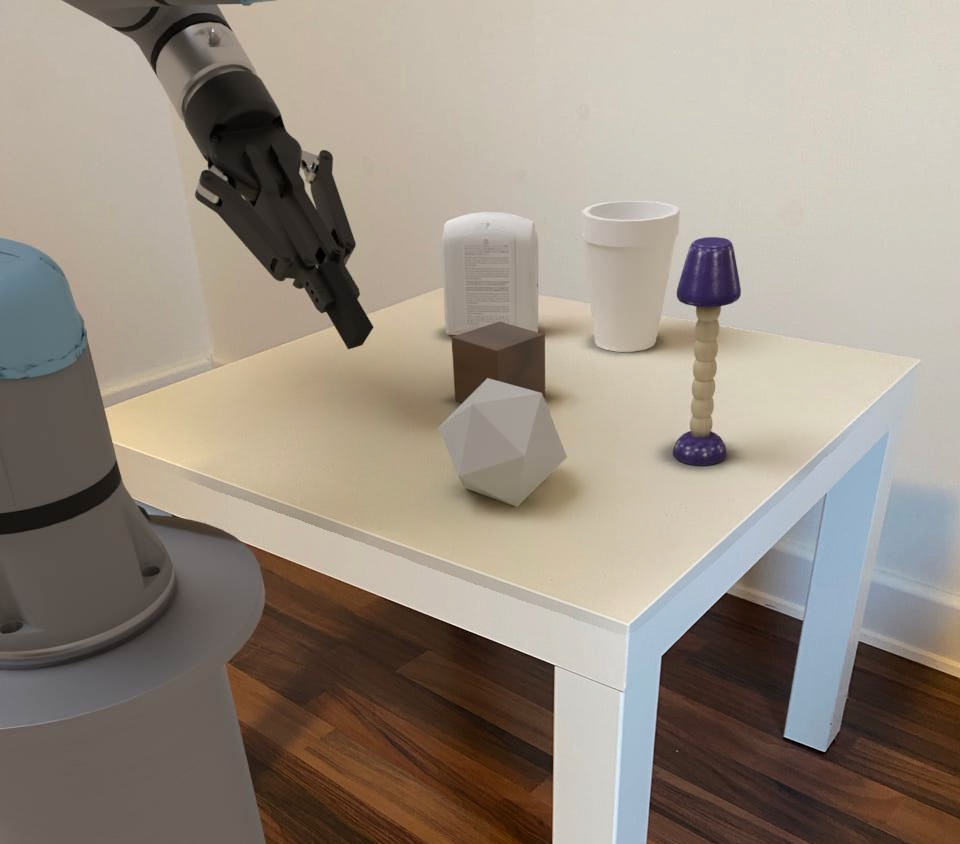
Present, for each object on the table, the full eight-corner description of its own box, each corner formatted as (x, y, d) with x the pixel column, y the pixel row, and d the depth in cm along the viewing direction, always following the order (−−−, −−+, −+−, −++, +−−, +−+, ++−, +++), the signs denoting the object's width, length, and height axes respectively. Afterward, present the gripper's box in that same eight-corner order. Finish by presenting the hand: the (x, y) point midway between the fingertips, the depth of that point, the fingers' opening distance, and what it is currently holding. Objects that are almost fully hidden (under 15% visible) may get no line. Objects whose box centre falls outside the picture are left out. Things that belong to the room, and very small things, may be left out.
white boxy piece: (541, 327, 111) (540, 207, 104) (536, 339, 108) (535, 217, 101) (449, 326, 113) (442, 208, 106) (442, 338, 109) (434, 217, 103)
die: (587, 496, 78) (558, 371, 79) (550, 486, 70) (518, 346, 70) (487, 524, 81) (460, 404, 82) (442, 518, 73) (411, 385, 74)
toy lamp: (711, 472, 79) (732, 251, 70) (656, 461, 81) (669, 244, 72) (733, 450, 83) (756, 235, 73) (680, 439, 85) (696, 230, 75)
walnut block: (498, 416, 91) (496, 351, 87) (454, 400, 94) (451, 336, 91) (545, 398, 94) (545, 334, 90) (501, 383, 98) (499, 321, 94)
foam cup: (689, 344, 105) (699, 210, 97) (618, 363, 101) (623, 226, 93) (631, 322, 111) (636, 196, 104) (562, 339, 108) (563, 209, 100)
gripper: (159, 73, 78) (309, 331, 77) (299, 58, 85) (439, 294, 84) (143, 143, 85) (281, 382, 84) (275, 123, 92) (405, 344, 91)
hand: (360, 338), depth 84 cm, fingers closed
